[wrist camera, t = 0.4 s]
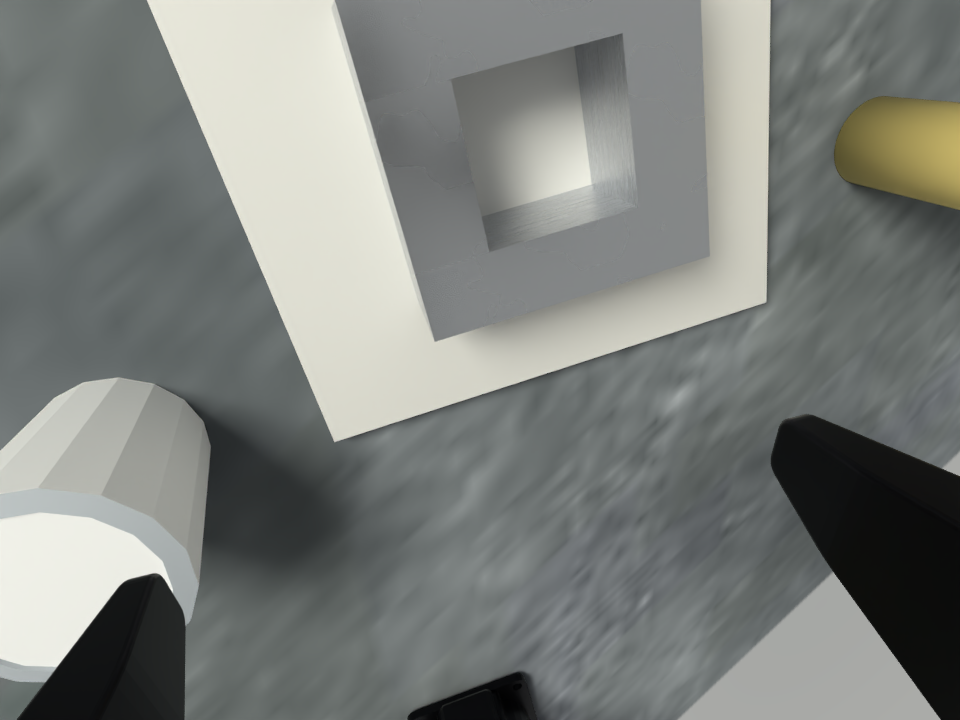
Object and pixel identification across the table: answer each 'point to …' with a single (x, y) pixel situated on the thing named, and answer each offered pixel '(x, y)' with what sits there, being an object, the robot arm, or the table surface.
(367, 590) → the table surface
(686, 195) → the metal collar
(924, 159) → the pin
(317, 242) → the base plate
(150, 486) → the white short cylinder
